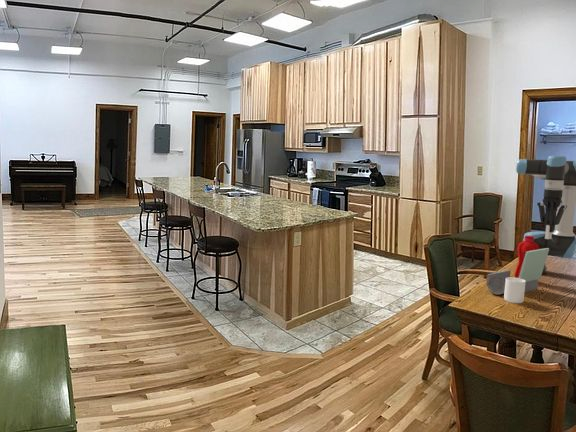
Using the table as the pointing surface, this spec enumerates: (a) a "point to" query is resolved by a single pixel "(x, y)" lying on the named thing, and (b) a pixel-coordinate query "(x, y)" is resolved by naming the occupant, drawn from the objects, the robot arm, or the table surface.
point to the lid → (533, 264)
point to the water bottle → (524, 252)
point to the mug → (496, 286)
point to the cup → (514, 290)
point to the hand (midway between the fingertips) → (548, 238)
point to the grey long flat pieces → (505, 274)
